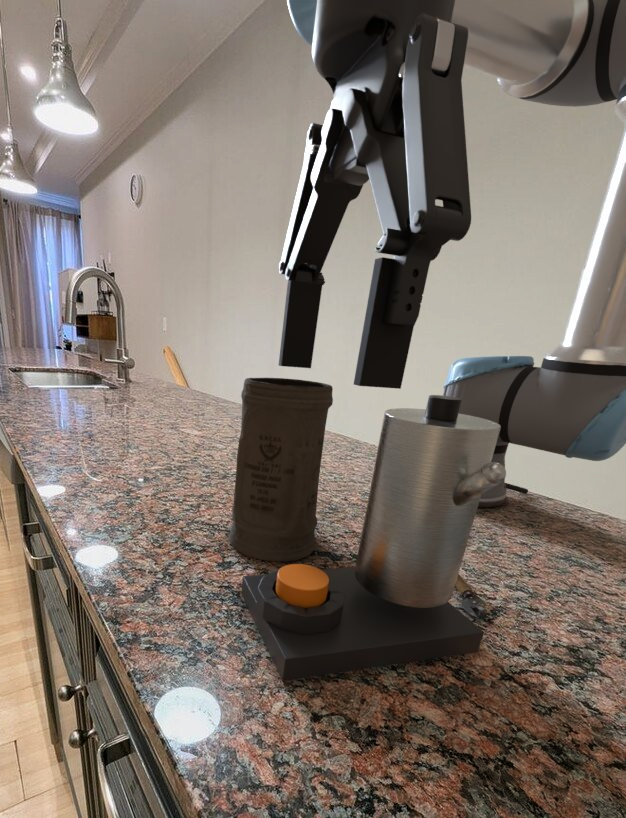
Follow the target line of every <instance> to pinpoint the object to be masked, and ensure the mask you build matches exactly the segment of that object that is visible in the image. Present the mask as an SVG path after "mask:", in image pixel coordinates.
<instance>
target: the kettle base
mask: <svg viewBox="0 0 626 818" xmlns="http://www.w3.org/2000/svg"><path fill="white" fill-rule="evenodd" d="M355 567H356V566H353V567H352V566H351V567H341V568H339V567H338V568H332V569H331V568H327V569H321V570H322V571H323V572H324V573H326V574H327V576H328V578H329V586H328V592H327V598H326V601H325V602H324V603H323V604H322V605H320V606H315V607H306V608H305V607H300V606H295V605H290V604H288V603H286V602H285V601H283V600H281V599H280V598H279V597H278V596H277V594H276V582H277V574H278V571H279V570H280V569H277V570H275V571H273V572H270V573H266V574H265V573H264V574H254V575H253V574H252V575H243V576H242V582H241V591H240V593H241V597H242V599H243V601H244V603H245V606H246V607H247V610H248V612H249V614H250V616H251V618H252V621H253V622H254V625H255V627H256V629H257V631H258V633H259V635H260V637H261V639H262V641H263V643H264V646H265V648H266V650H267V652H268V654H269V656H270V659H271V660H272V663H273V664H274V667H275V668H276V670H277V673H278V676H279V677H280V679H281V681H282V682H286V681H295V680H300V679H306V678H313V677H320V676H321V677H322V676H327V675H333V674H340V673H341V674H342V673H348V672H354V671H361V670H367V669H374V668H375V669H376V668H381V667H388V666H395V665H401V664H409V663H414V662H421V661H427V660H435V659H441V658H448V657H453V656H461V655H467V654H468V655H469V654H474V653H475V654H476V653H478V652H479V650H480V646H481V643H482V640H483V637H484V635H485V631H484V630H482V629H481V628H480V627H479V626H478V625H477V624H475V623H474V622H473V621H472V620H470V619H469V618H468V617H467V616H466V615H465V614H463V613H462V612H461V611H460V610H459V609H458V608H457V607H455V606H454V605H453V604H451V602H450V601H448V602H447V603H445V604H443V605H441V606H437V607H431V608H417V607H409V606H403V605H399V604H396V603H392V602H389V601H387V600H384V599H382V598H379V597H377V596H376V595H374V594H372V593H370V592H369V591H367V590H366V589H365V588H364V587H362V586H361V585H360V583H359V582H358V581H357V579H356V577H355Z"/></svg>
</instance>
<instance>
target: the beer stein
mask: <svg viewBox="0 0 626 818" xmlns="http://www.w3.org/2000/svg"><path fill="white" fill-rule="evenodd" d="M240 397H241V422H240V423H241V425H240V435H239V437H238V444H237V451H236V452H237V453H236V466H235V479H234V490H233V491H234V493H233V504H232V513H231V518H232V525H231V527H230V529H229V536H228V540H229V543H230V545H231V546H232V547H233V548H234V549H235V550H236V551H237V552H238V553H241V554H242V555H244V556H246V557H249V558H252V559H254V560H259V561H267V562H277V563H278V562H279V563H281V562H282V563H284V562H285V563H286V562H295V561H299V560H301V559H304V558H306V557H309V556H310V555H311V554H312V553H313V552H314V550H315V548H316V535H315V530H316V527H317V526H318V518H317V507H318V505H317V504H318V496H319V495H318V493H319V482H320V475H321V474H320V473H321V464H322V457H323V451H324V450H323V449H324V448H323V447H324V441H325V435H326V434H325V433H326V426H327V420H328V414H329V409H330V408H331V407H332V406H333V403H334V398H333V386H332V385H331V384H328V383H324V382H320V381H319V382H318V381H312V380H303V379H297V378H295V379H293V378H283V377H247V378H245V379H244V382H243V388H242V390H241V394H240Z"/></svg>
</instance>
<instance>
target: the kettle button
mask: <svg viewBox="0 0 626 818" xmlns="http://www.w3.org/2000/svg"><path fill="white" fill-rule="evenodd" d="M278 570H279V571H278V574H277V582H276V594H277V596H278V597H279V598H280V599H281V600H283V601H285V602H286V603H288V604H290V605H295V606H300V607H305V608H306V607H315V606H320V605H322V604H323V603H324V602H325V601H326V598H327V592H328V586H329V578H328V576H327V574H326V573H324V572H323V571H322V570H323V569H320V568H318V567H316V566H313V565H309V564H303V563H291V564H287V565H284V566H282V567H280V568H279V569H278Z"/></svg>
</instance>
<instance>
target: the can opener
mask: <svg viewBox="0 0 626 818" xmlns="http://www.w3.org/2000/svg"><path fill="white" fill-rule="evenodd" d="M454 588H456V589H457V591H458V593H459V594H460V595H461V596H462V598H463V599H464V600H462V601H461V607H462V609H463V610H464V611H465V612H466V613H467V614H469V615H470V616H472V617H474V618H476V619H480V618H485V617H486V609H485V608H484V607H486V606H487V603H486V601H485V600H483V599H480V598H477V597H476V598H475V597H474V593H473V591H472V590H471V589H470V588H469V586H468V585H467V584H466V582H465V581H464V579H463V577H462V576H461V574H460V573H458V577H457V580H456V584H455V587H454ZM480 603H481V604H482V605H483V606H481V605H479V604H480ZM473 609H474V610H473Z"/></svg>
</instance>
